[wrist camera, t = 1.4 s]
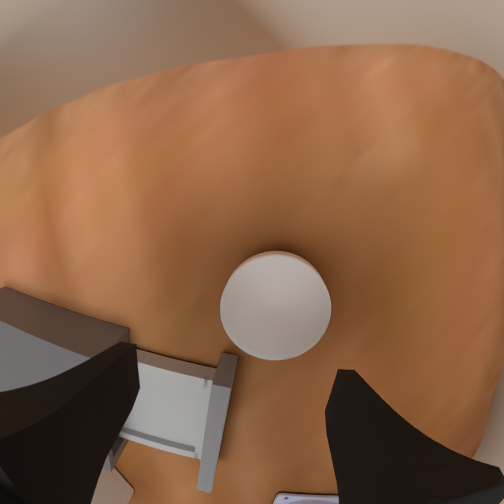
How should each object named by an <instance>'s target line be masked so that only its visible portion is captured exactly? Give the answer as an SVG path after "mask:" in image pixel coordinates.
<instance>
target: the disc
mask: <svg viewBox="0 0 504 504" xmlns="http://www.w3.org/2000/svg"><path fill="white" fill-rule="evenodd" d="M220 316H221V321H222V324H223V327H224V329H225V331H226V333H227V335H228V336H229V338H230V339H231V340H232V342H233V343H234V344H235V345H236V346H238V347H239V348H240V349H241V350H243V351H244V352H246V353H248V354H250V355H252V356H254V357H257V358H261V359H265V360H285V359H289V358H293V357H296V356H299V355H301V354H303V353H305V352H306V351H308V350H309V349H311V348H312V347H313V346H314V345H315V344H316V343H317V342H318V341H319V340H320V339H321V337H322V336H323V335H324V333H325V331H326V329H327V327H328V324H329V321H330V316H331V300H330V296H329V293H328V290H327V288H326V286H325V284H324V282H323V280H322V278H321V276H320V274H319V273H318V271H317V270H316V269H315V268H314V267H313V266H312V265H311V264H310V263H309V262H308V261H306V260H305V259H303V258H302V257H300V256H298V255H295V254H293V253H289V252H284V251H268V252H263V253H259V254H257V255H254V256H252V257H250V258H248V259H247V260H245V261H244V262H243V263H241V264H240V265H239V266H238V267H237V268H236V269H235V271H234V272H233V273H232V275H231V277H230V279H229V280H228V282H227V285H226V287H225V289H224V291H223V294H222V298H221V302H220Z"/></svg>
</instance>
